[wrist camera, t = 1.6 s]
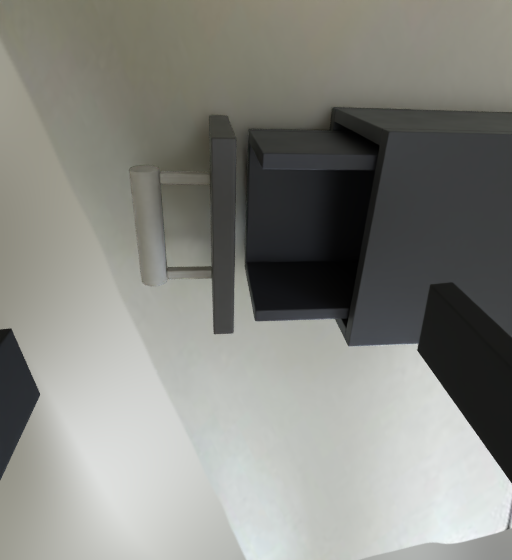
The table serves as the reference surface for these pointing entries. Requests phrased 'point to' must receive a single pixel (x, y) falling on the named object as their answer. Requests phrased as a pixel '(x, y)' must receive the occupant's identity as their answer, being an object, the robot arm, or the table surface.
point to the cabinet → (431, 218)
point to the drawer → (271, 221)
